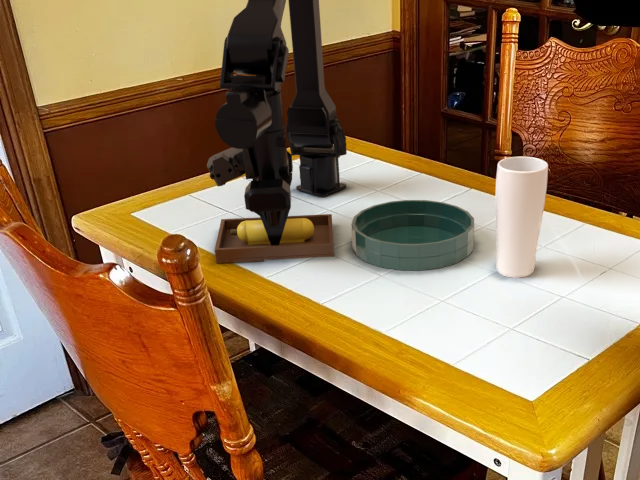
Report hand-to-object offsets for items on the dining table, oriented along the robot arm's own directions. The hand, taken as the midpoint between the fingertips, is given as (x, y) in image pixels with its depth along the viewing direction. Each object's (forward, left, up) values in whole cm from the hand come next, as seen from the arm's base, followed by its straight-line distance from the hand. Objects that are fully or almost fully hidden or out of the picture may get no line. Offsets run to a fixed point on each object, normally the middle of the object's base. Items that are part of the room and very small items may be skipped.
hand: (276, 235), depth 127 cm
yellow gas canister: (0, 0, -1) cm, 1 cm away
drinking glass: (-14, +34, -2) cm, 37 cm away
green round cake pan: (-12, +17, -1) cm, 21 cm away
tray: (0, 0, -1) cm, 1 cm away
